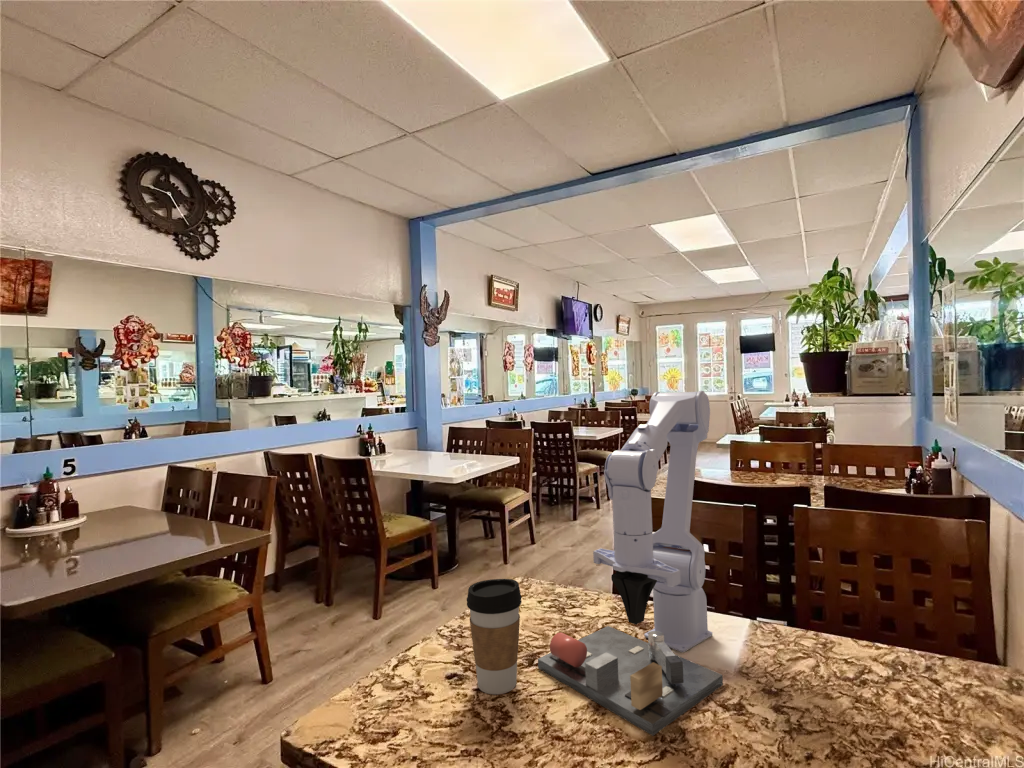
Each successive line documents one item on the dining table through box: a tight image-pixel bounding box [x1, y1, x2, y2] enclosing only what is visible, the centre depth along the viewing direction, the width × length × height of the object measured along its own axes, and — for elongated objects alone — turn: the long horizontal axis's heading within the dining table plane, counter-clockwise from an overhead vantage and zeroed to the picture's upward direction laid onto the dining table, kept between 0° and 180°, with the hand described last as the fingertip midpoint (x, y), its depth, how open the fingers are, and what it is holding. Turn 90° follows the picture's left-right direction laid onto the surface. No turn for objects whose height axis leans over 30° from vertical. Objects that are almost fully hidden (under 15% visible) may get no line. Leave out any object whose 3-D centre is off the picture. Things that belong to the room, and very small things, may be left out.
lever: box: [647, 631, 684, 684], centre depth 79 cm, size 9×2×4 cm, turn 6°
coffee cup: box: [466, 578, 523, 695], centre depth 80 cm, size 8×8×15 cm
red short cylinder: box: [549, 631, 587, 667], centre depth 82 cm, size 4×5×4 cm
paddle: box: [630, 662, 663, 710], centre depth 71 cm, size 5×1×4 cm, turn 129°
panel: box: [537, 625, 724, 736], centre depth 81 cm, size 17×22×5 cm
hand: (636, 621), depth 78 cm, fingers closed
